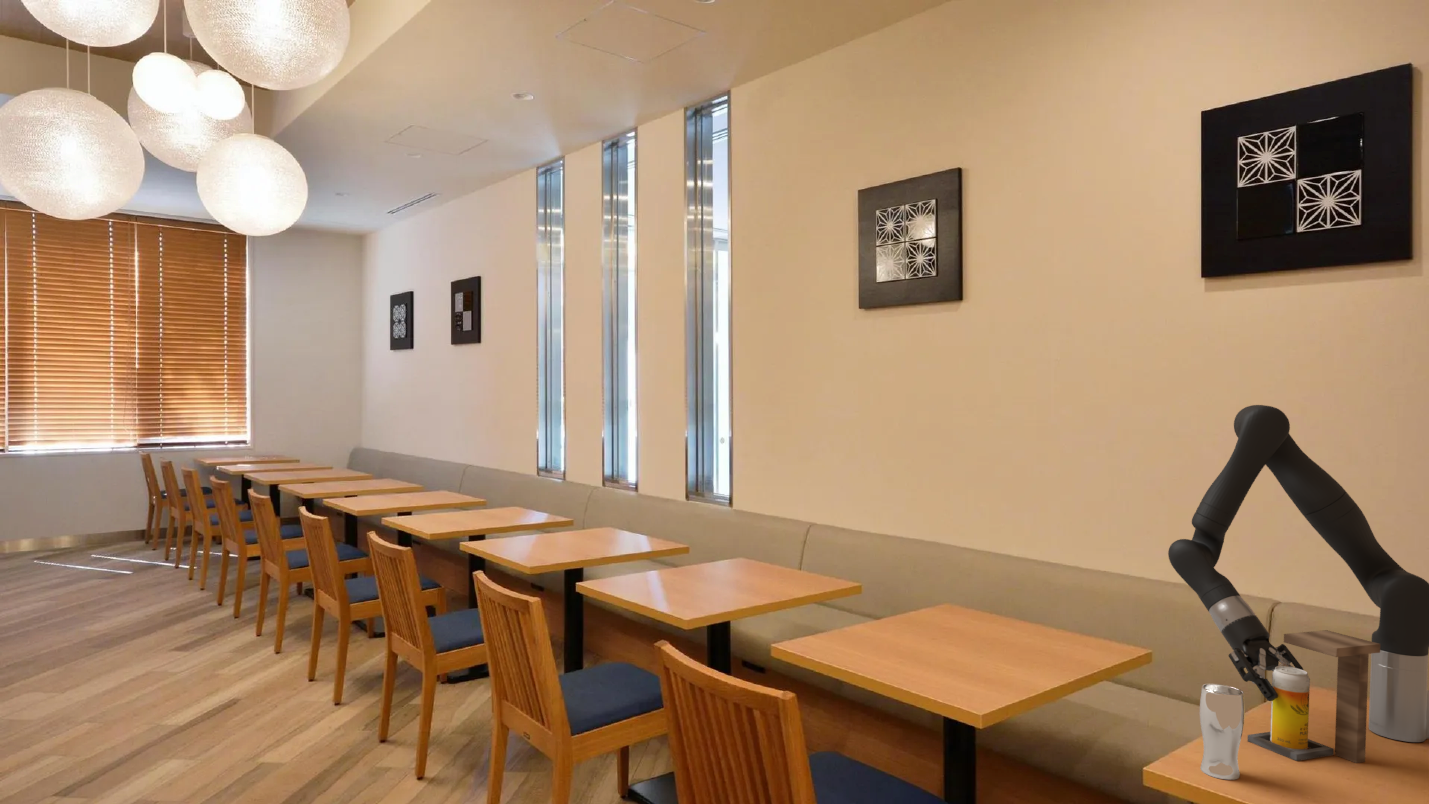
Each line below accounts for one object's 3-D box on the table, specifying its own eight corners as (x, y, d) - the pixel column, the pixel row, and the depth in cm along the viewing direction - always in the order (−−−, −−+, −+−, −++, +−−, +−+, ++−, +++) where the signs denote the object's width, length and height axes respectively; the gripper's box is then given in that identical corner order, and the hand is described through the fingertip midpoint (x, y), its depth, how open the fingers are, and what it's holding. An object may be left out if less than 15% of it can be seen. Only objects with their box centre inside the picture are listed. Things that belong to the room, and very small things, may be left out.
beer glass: (1239, 784, 153) (1242, 698, 153) (1194, 773, 158) (1197, 689, 158) (1244, 772, 159) (1247, 688, 159) (1201, 761, 163) (1203, 680, 163)
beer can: (1308, 756, 167) (1310, 677, 167) (1270, 748, 171) (1272, 671, 171) (1306, 746, 173) (1309, 669, 173) (1269, 739, 176) (1272, 663, 176)
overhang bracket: (1293, 734, 179) (1296, 622, 179) (1376, 765, 164) (1380, 643, 164) (1247, 741, 174) (1251, 626, 174) (1328, 774, 159) (1332, 648, 159)
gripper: (1224, 615, 177) (1277, 691, 167) (1275, 612, 182) (1329, 685, 172) (1201, 635, 182) (1250, 709, 172) (1250, 631, 187) (1301, 703, 177)
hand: (1289, 697), depth 172 cm, fingers open, 8 cm apart
